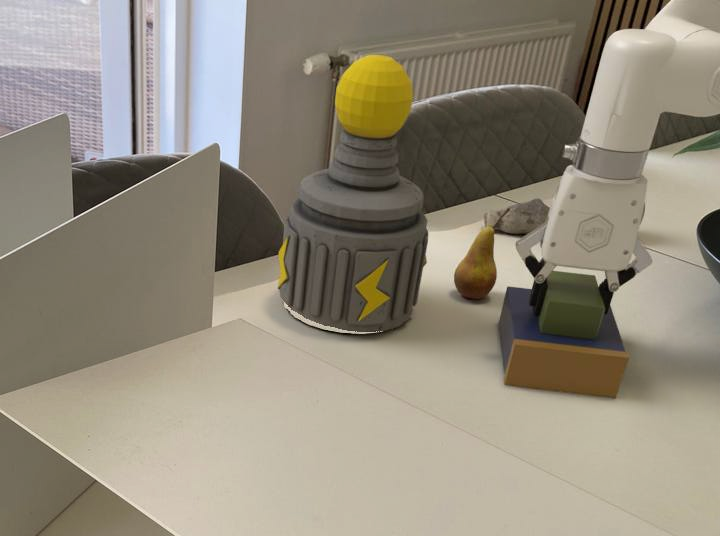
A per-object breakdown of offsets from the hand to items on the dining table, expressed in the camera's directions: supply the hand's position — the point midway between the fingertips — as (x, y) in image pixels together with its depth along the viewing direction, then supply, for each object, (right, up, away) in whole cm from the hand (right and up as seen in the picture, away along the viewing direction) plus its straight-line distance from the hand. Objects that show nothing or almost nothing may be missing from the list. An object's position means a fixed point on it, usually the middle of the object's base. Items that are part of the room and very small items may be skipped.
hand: (565, 314), depth 122 cm
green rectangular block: (0, 0, 0) cm, 1 cm away
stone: (+4, +25, +38) cm, 45 cm away
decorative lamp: (-26, +5, +12) cm, 29 cm away
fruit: (-8, +8, +17) cm, 21 cm away
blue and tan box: (0, -4, +4) cm, 6 cm away
